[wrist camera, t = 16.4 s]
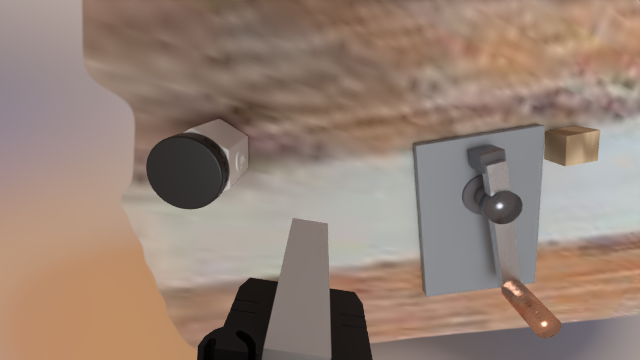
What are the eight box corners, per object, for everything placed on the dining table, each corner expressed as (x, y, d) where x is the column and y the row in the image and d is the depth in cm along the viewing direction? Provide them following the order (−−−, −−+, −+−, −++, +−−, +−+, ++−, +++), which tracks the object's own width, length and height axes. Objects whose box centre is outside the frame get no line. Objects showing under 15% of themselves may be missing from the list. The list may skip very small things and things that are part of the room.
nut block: (566, 136, 38) (600, 130, 38) (544, 131, 42) (574, 125, 41) (565, 166, 39) (597, 160, 39) (543, 158, 43) (572, 153, 43)
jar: (250, 181, 44) (225, 215, 33) (195, 178, 44) (150, 211, 33) (249, 120, 41) (221, 134, 30) (190, 116, 41) (140, 129, 30)
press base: (412, 143, 42) (423, 150, 38) (537, 124, 41) (561, 128, 37) (423, 290, 50) (432, 310, 46) (528, 276, 49) (548, 295, 44)
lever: (462, 152, 40) (511, 176, 30) (496, 142, 40) (557, 164, 29) (483, 283, 47) (530, 341, 36) (512, 276, 46) (568, 333, 36)
